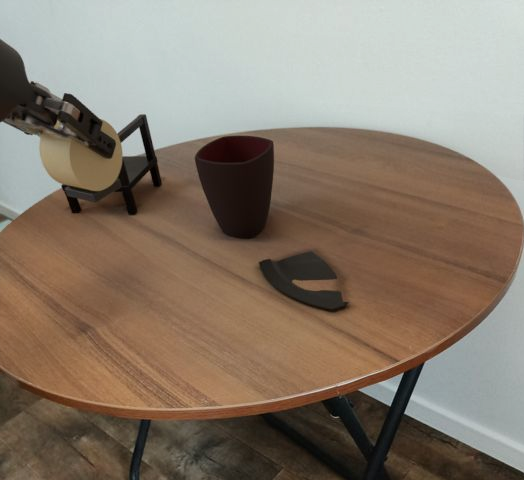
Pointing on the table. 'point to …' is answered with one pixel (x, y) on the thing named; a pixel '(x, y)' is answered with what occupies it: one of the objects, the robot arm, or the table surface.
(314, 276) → the fan shaped piece
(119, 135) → the chair
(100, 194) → the short beige cylinder
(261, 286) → the table surface
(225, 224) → the cup
